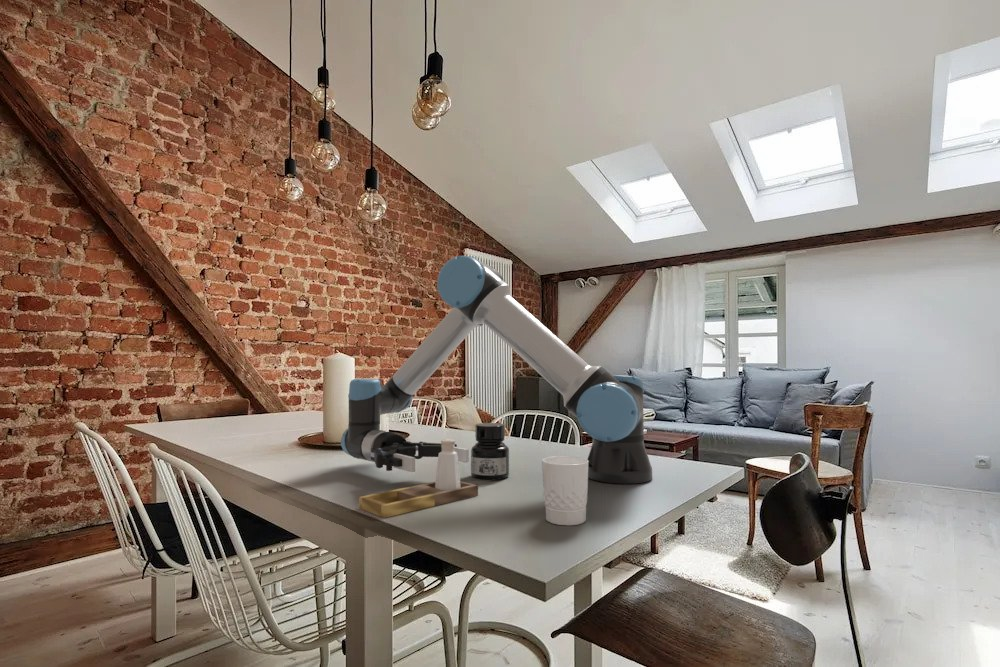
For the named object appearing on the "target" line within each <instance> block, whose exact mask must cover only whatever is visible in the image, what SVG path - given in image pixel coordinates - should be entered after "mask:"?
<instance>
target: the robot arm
mask: <svg viewBox="0 0 1000 667" xmlns="http://www.w3.org/2000/svg"><path fill="white" fill-rule="evenodd" d="M436 282H437V292H438V294H439V296H440V299H441V300H442V301H443V302H444V303H446V304H447V305H448V306H450V307H452V308H451V309H450V311H449V312H448V313H447V314H446V315H445V316H444V317H443V318H442V320H440V322H439V323H438V324H437V325H436V327H435V328H434V329H433V330H432V331H431V332H430V333H429V334H428V336H427V337H426V338H424V340H423V341H422V342H421V343H420V345H419V346H418V347H417V348H416V349H415V350H414V351H413V352H412V354H410V356H409V357H408V359H406V361H404V362H403V364H402V365H401V366H400V367H399V368H398V369H397V371H396V372H395V373H394V374H393V375H392V376H391V378H389V380H388V381H387V382H386V383H385V384H381V381H380V379H378V378H354V379H351V380H350V382H349V387H348V395H347V396H348V427H347V429H345V430H344V431H343V434H342V435H341V437H340V445H341V448H342V451H343V452H344V453H345V454H346V455H349V456H351V457H352V458H355V459H358V460H365V461H369V462H372V463H374V465H375V467H376V468H377V469H381V468H383V467H384V466H385V470H386V472H387V471H388V472H392V471H393V468H394V469H399V470H402V471H405V472H410V473H416V460H420V459H422V458H438V455H439V453H440V452H442V448H441V445H442V444H441V442H440V443H438V442H437V443H436V442H426V441H418V442H412V441H407V440H406V438H405V437H404V435H402V434H401V433H398V432H393V431H388V430H381V415H385V414H395V413H400V412H403V411H405V410H407V409H408V408H410V406H411V404H412V402H413V396H414V395H415V394H416V393H417V392H418V391H419V390H420V388H421V387H422V386H423V385H424V384H425V383H426V382H427V381H428V380H429V378H431V376H432V375H433V374H434V373H435V372H436V371H437V370H438V368H440V367H441V365H442V364H443V363H444V362H445V361H446V360H447V359H448V358H449V357H450V355H452V353H453V352H454V351H455V350H456V349H457V348H458V347H459V345H460V344H462V343H463V341H464V340H465V339H466V338H467V337H468V336H469V334H470V333H472V332H473V330H474V329H475V328H477V327H482V326H483V325H485V326H486V327H487V328H488V329H490V330H491V332H493V333H494V334H495V335H496V336H497V337H498V338H500V339H501V341H503V343H505V344H506V345H507V346H509V347H510V349H512V350H513V351H514V352H515V353H516V354H517V355H518V356H519V357H520V358H522V360H524V362H526V363H527V364H528V365H529V366H530V367H531V368H532V369H534V370H535V372H537V373H538V374H539V375H540V376H541V377H542V378H543V379H544V380H545V381H546V382H548V383H549V384H550V385H551V386H552V388H554V389H555V390H556V391H557V392H558V393H559V394H561V396H562V399H563V406H564V408H566V409H567V411H568V412H570V413H571V414H572V415H573V417H575V418H576V419H577V421H578V423H579V425H580V427H581V429H582V430H583V431H584V432H585V433H586V434H587V435H588V436H589V437H591V438H592V444H591V446H590V450H589V453H588V457H587V458H586V459H587V460H588V461H589V465H588V479H590V480H593V481H597V482H601V483H606V484H607V483H609V484H623V485H625V484H627V485H629V484H640V483H641V484H642V483H647V482H650V481H651V480H653V466H652V465H651V462H650V458H649V455H648V452H647V449H646V447H645V442H644V441H645V437H644V435H645V432H644V431H645V430H644V429H645V428H644V423H645V422H644V392H645V388H644V383H643V380H642V379H641V378H640V377H638V376H634V375H633V376H631V375H620V374H618V375H617V374H611V373H610V372H609V371H608V370H606V369H605V368H604V367H603V366H602V365H590V364H589V363H587V361H585V360H584V359H583V358H582V357H581V356H580V355H578V354H577V353H576V352H575V351H574V350H573V349H571V348H570V347H569V346H568V345H567V344H566V343H565V342H564V341H563V340H562V339H560V338H559V337H558V336H557V335H555V333H553V332H552V331H551V330H550V329H549V328H548V327H547V326H545V325H544V324H543V323H542V322H541V321H540V320H539V319H538V318H536V316H534V315H533V314H532V313H531V312H529V311H528V310H527V309H526V308H525V307H524V306H522V305H521V304H520V303H519V302H518V301H517V300H515V298H513V296H511V288H510V285H509V284H507V282H505V280H504V277H503V275H502V274H501V273H500V271H498V270H497V269H496V268H494V267H492V266H491V265H488V264H486V263H484V262H483V261H480V260H479V259H477V258H476V257H474V256H468V255H457V256H454V257H452V258H450V259H449V260H447V262H445V263H444V264H443V266H442V267H441V269H440V270H439V273H438V276H437V280H436ZM454 445H455V448H454V451H455V452H456V453H457V455H458V462H461V463H466V464H467V463H469V461H470V459H469V458H470V457H469V455H470V452H469V448H465V447H464V448H463V447H459V446H457V444H456V443H455V444H454ZM416 453H417V454H416Z"/></svg>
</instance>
